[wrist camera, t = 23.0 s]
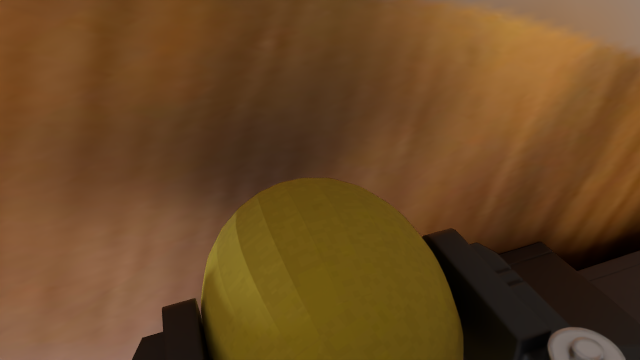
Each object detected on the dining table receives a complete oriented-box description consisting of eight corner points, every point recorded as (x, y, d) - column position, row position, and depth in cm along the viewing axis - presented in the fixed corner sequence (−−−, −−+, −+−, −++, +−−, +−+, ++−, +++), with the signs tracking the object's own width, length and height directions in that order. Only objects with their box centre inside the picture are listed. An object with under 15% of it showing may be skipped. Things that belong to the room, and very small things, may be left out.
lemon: (336, 287, 17) (465, 537, 10) (171, 283, 15) (201, 600, 8) (391, 144, 15) (600, 344, 8) (207, 113, 12) (289, 355, 6)
